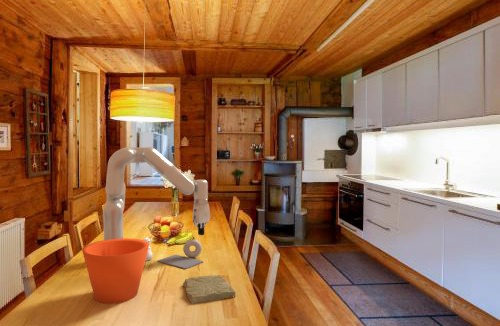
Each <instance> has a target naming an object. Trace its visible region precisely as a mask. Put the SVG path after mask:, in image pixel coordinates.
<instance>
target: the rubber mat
mask: <svg viewBox="0 0 500 326" xmlns="http://www.w3.org/2000/svg"><path fill="white" fill-rule="evenodd" d="M157 263H161V264H164V265H169V266H172V267H176V268H178V269H179V268H180V269H183V270H188V269H191V268H193V267H195V266H198V265H200V263H201V264H203V263H204V260H200V259H197V258H196V259H195V258H191V257H188V256H184V255H180V254H172V255H170V256H167V257H164V258H160V259H158V260H157Z"/></svg>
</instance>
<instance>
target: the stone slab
mask: <svg viewBox="0 0 500 326" xmlns="http://www.w3.org/2000/svg"><path fill="white" fill-rule="evenodd" d="M182 286H183V288H185V290H186V291H185V292H186V293H185V295H186V298H187V299H189V302H190V303H191V304H192V305H193V304H200V303H206V302H207V303H209V302H213V300H214V301H221V300H225V299H224V298H227V299H229V298H228V297H233V296H235V297H236V290H235V289H234V287H232V286H231V284H230V283H229V282H228V281H227V280H226V278H223V276H221V275H220V274H215V275H214V274H212V275H211V274H210V275H203V276H202V275H201V276H196V277H189V278H185V279H184V282H183V283H182ZM233 298H234V297H233ZM220 299H221V300H220Z"/></svg>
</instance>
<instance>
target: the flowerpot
mask: <svg viewBox="0 0 500 326" xmlns="http://www.w3.org/2000/svg"><path fill="white" fill-rule="evenodd" d="M149 246H150V244H149V243H148V242H146V241H144V240H143V239H139V238H128V237H127V238H126V237H125V238H124V237H123V238H121V239H109V240H104V239H103V240H98V241H94V242H91V243H89V244H87V245H85V246H83V247H82V249H81V251H82V254H83V258H84V262H85V267H86V271H87V274H88V277H89V282H90V284H91V289H92V292H93V296H94V297H93V298H94V300H95V302H97V303H100V304H107V305H109V304H114V305H115V304H119V303H124V302H128V301H131V300H132V299H134V298H135V297H136V296H138V293H139V292H138V291H139V289H140V285H141V280H142V275H143V271H144V268H145V263H146V261H145V260H146V255H147V251H148V247H149Z"/></svg>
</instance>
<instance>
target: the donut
mask: <svg viewBox="0 0 500 326" xmlns="http://www.w3.org/2000/svg"><path fill="white" fill-rule="evenodd" d="M192 246H194V247H195V249H194V250H191V249H190V247H192ZM202 248H203V247H202V243H201V242H200V241H199V240H197V239H195V238H194V239H189V240H186V242H184V245H183V248H182V249H183V254H184V255H185V257H188V258H192V259H194V258H196V257H198V256H199V255H200V254H201V252H202V250H203V249H202Z"/></svg>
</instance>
